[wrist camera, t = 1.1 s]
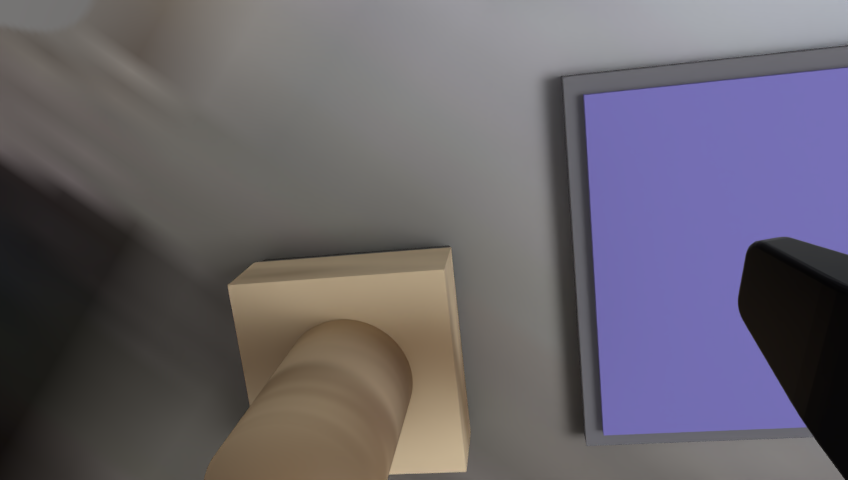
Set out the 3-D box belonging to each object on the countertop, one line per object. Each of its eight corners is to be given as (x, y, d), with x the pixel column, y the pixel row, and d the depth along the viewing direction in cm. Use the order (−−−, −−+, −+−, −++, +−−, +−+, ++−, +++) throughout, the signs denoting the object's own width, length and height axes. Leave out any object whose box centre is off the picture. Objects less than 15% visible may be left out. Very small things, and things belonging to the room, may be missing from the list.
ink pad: (968, 418, 22) (989, 436, 21) (584, 434, 23) (587, 451, 22) (997, 29, 19) (1023, 28, 18) (561, 76, 20) (563, 78, 19)
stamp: (471, 422, 24) (449, 627, 15) (290, 430, 24) (177, 628, 16) (452, 242, 22) (416, 360, 14) (260, 256, 23) (119, 377, 15)
